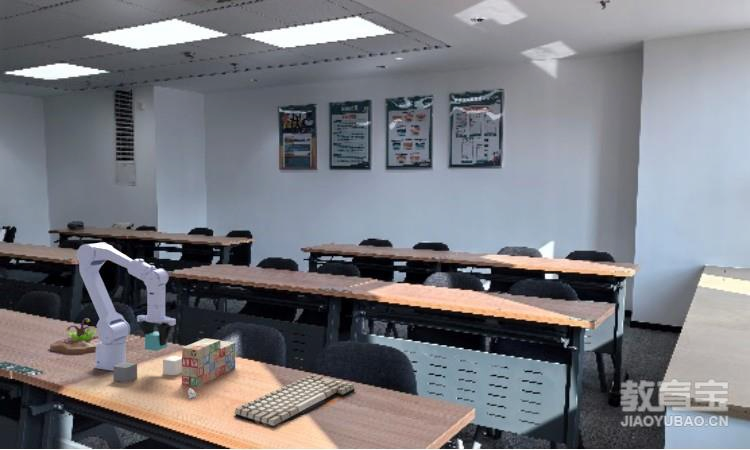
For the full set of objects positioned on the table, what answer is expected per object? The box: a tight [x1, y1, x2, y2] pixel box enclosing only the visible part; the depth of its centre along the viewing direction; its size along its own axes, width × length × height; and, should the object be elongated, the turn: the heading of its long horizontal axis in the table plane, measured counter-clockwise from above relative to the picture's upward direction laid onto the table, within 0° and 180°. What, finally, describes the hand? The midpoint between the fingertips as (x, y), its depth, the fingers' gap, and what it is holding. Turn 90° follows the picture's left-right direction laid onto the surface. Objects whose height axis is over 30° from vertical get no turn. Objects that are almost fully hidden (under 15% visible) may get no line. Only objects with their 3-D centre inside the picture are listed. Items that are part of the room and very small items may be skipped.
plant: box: [49, 317, 101, 355], centre depth 222 cm, size 20×20×11 cm
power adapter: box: [187, 387, 197, 399], centre depth 171 cm, size 3×3×3 cm
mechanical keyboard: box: [233, 373, 356, 428], centre depth 169 cm, size 38×19×3 cm, turn 150°
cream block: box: [162, 355, 182, 376], centre depth 193 cm, size 5×5×5 cm
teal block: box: [144, 331, 168, 352], centre depth 194 cm, size 5×5×5 cm
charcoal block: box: [113, 361, 138, 383], centre depth 185 cm, size 5×5×5 cm
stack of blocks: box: [181, 338, 237, 388], centre depth 191 cm, size 21×6×12 cm, turn 161°
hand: (156, 344), depth 194 cm, fingers closed on teal block, 5 cm apart
